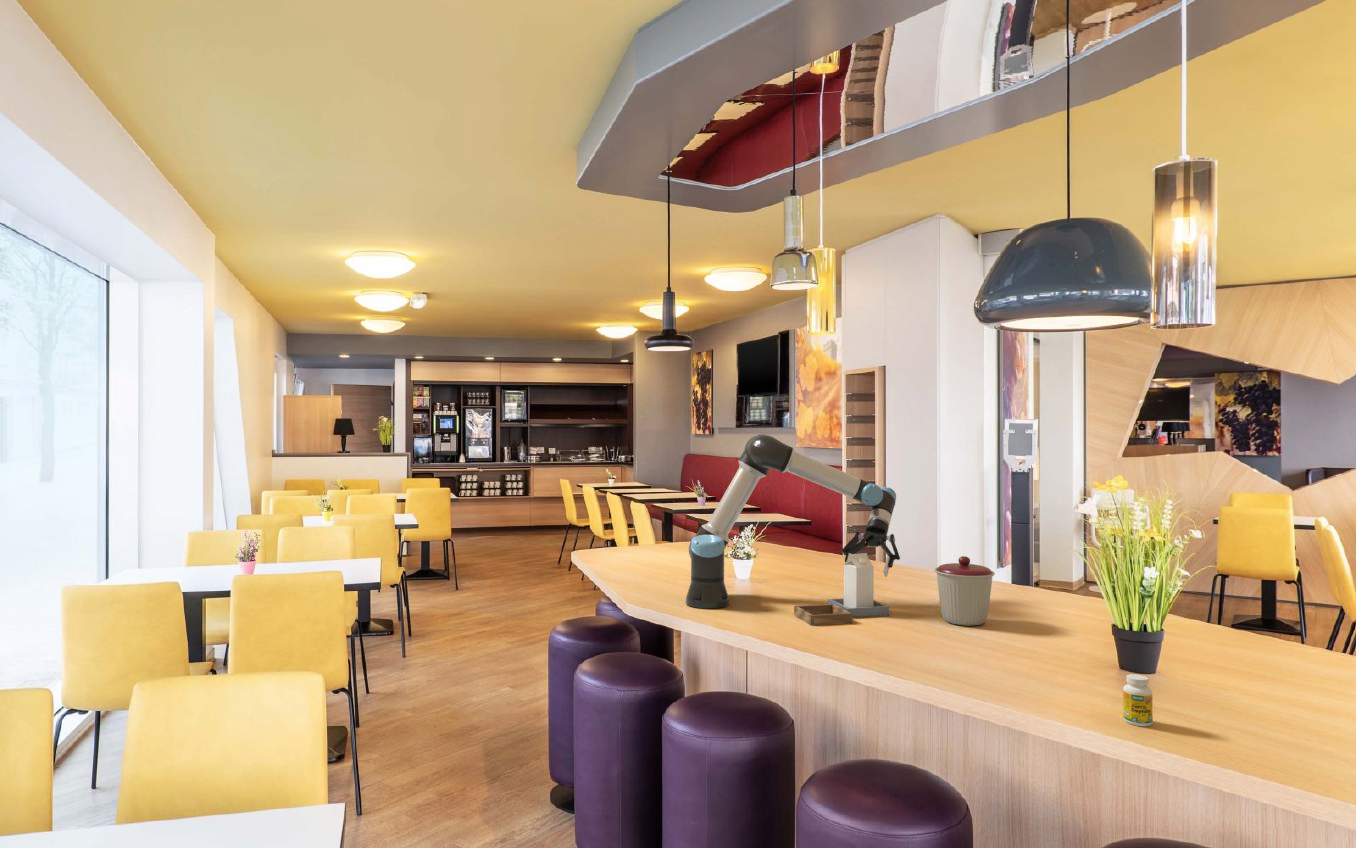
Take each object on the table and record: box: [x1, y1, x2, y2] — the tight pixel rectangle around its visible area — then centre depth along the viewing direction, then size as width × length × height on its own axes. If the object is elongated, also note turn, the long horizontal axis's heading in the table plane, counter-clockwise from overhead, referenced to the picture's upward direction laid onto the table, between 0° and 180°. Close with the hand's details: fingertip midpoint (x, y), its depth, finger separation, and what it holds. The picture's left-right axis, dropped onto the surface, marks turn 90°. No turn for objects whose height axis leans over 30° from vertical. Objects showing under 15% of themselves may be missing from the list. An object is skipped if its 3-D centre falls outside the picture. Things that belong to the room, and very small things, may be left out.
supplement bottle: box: [1122, 673, 1154, 728], centre depth 167 cm, size 5×5×10 cm
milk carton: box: [843, 552, 875, 608], centre depth 268 cm, size 7×7×19 cm
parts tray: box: [827, 597, 890, 619], centre depth 268 cm, size 15×15×3 cm
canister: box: [934, 555, 995, 627], centre depth 254 cm, size 18×18×21 cm
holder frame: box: [793, 603, 853, 626], centre depth 257 cm, size 14×14×3 cm
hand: (865, 572), depth 274 cm, fingers open, 13 cm apart
